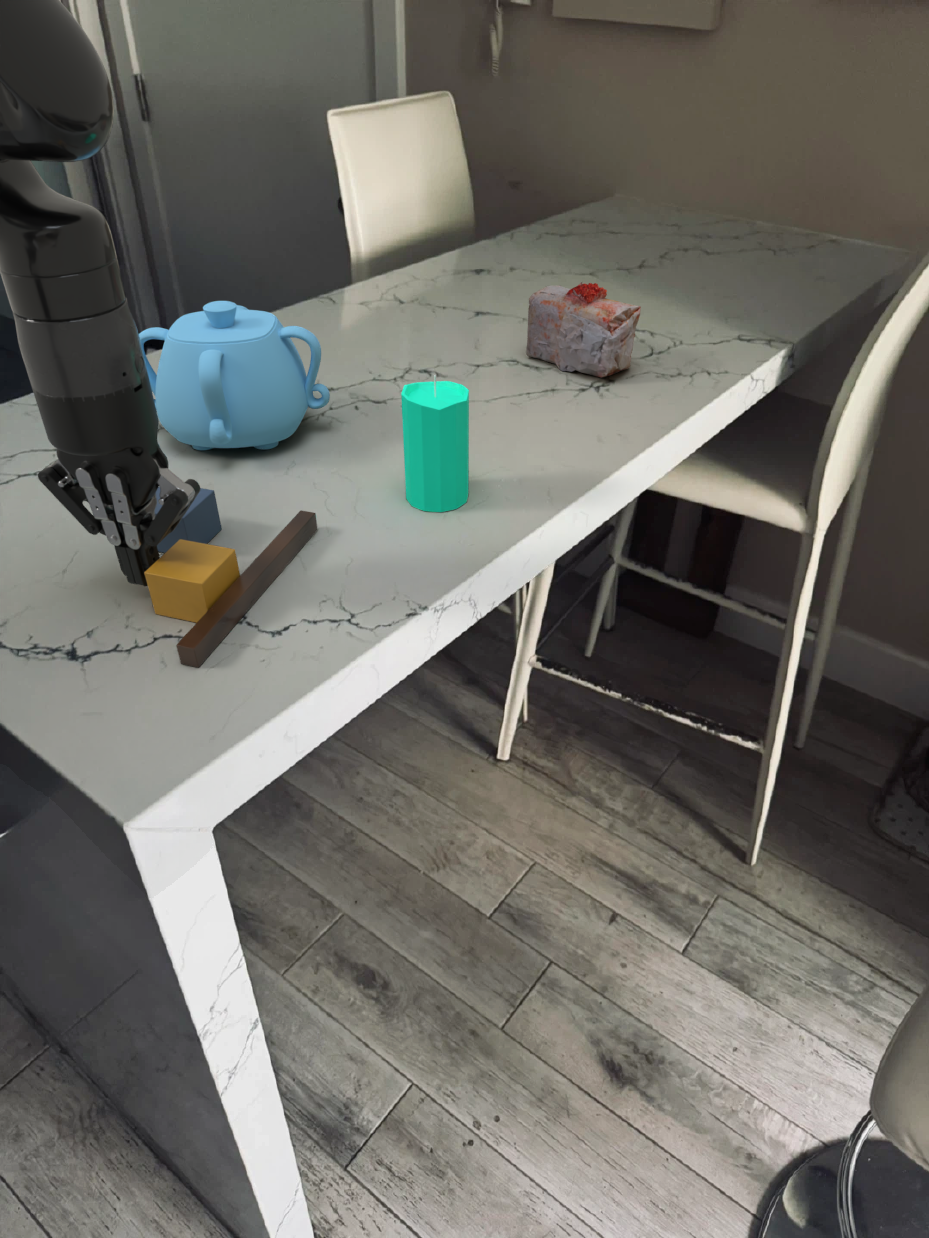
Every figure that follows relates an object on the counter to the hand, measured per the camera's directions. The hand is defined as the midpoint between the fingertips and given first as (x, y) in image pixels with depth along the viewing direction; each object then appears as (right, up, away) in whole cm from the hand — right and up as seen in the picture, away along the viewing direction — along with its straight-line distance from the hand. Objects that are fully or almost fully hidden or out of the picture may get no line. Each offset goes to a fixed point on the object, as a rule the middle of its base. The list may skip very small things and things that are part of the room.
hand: (144, 579), depth 70 cm
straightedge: (+9, -1, +1) cm, 9 cm away
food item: (+40, +29, +40) cm, 63 cm away
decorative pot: (+1, +17, +25) cm, 30 cm away
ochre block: (+5, -2, 0) cm, 5 cm away
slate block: (+1, +4, +7) cm, 8 cm away
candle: (+23, +8, +13) cm, 28 cm away
